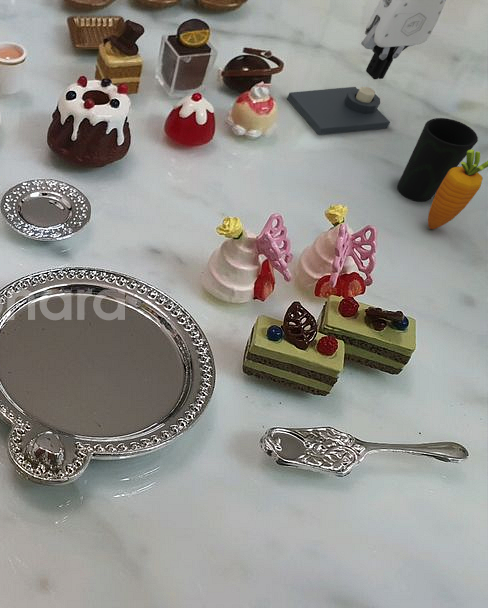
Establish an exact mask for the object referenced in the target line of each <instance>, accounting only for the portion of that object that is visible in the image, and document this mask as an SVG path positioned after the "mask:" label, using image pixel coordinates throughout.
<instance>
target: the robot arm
mask: <svg viewBox="0 0 488 608" xmlns="http://www.w3.org/2000/svg"><path fill="white" fill-rule="evenodd" d="M445 4H446V0H379V2H378V3H377V5H376V7H375V8H374V10H373V12H372V14H371V16H370V18H369V20H368V22H367V24H366V27H365V30H364V34H365V37H364V39H363V40H362V41H361V46H362V47H364V48H365V49H366V50H371V52H372V53H373V54H372V57H371V59H370V60H369V63H368V65H367V66H366V68H365V72H366V73H367V75H369V76H370V77H371V78H372V80H383V79H384V78H385V76H386V75H387V72H388V70H389V68H390V67H391V65H392V63H393V62H394V60H395V59H397V58H399V56H400V55H401V53H402V52H403V51H405V50H406V49H407V48H411V47H412V46H416V45H417V46H418V45H422V44H424V43H426V42H427V41H428V40H429V38H430V36H431V35H432V33H433V31H434V29H435V27H436V26H437V25H436V24H437V23H438V20H439V18H440V16H441V14H442V13H443V9H444V7H445Z"/></svg>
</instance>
